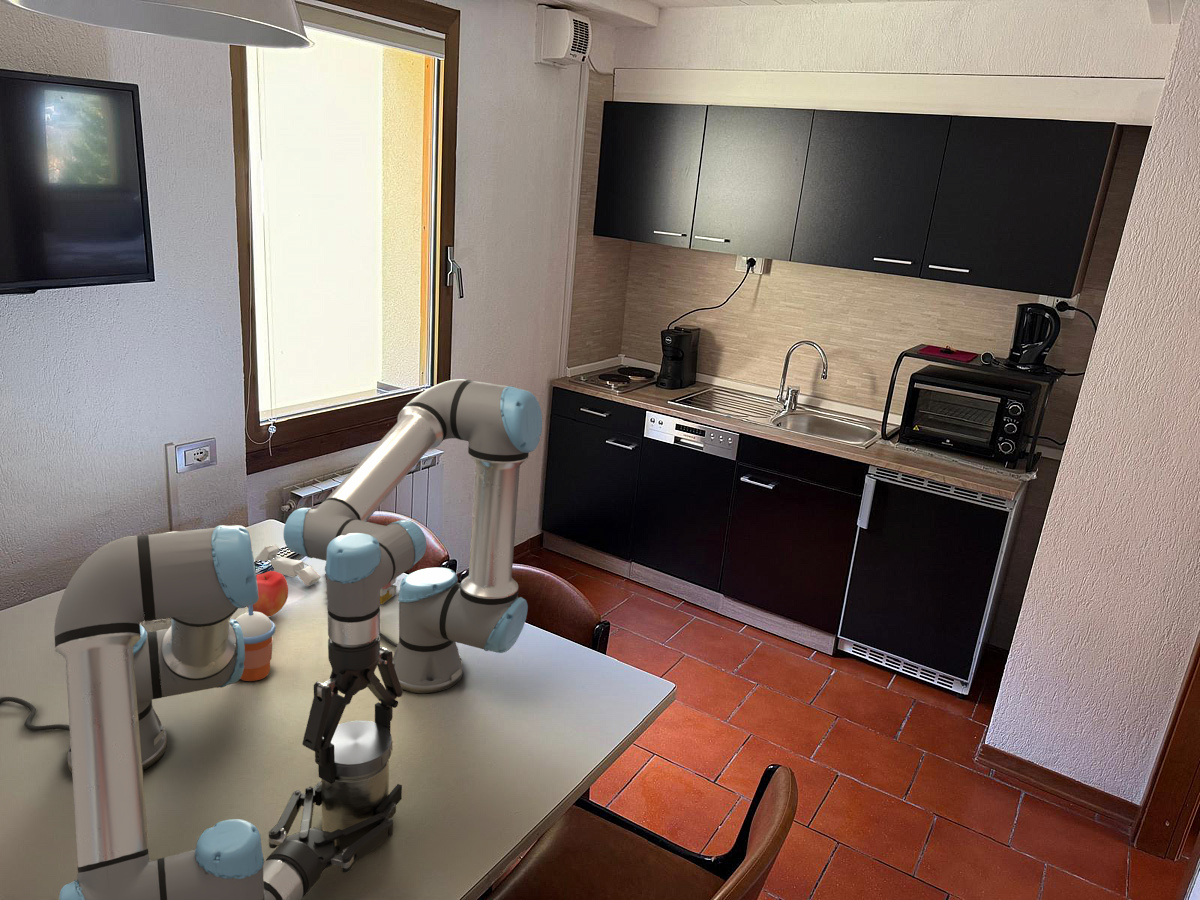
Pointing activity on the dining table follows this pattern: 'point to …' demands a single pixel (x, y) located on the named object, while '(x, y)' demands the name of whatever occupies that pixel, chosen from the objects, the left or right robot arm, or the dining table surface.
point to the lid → (360, 747)
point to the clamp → (288, 565)
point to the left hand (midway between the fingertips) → (369, 782)
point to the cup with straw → (256, 644)
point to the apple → (271, 593)
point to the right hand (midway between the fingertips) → (355, 759)
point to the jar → (353, 798)
